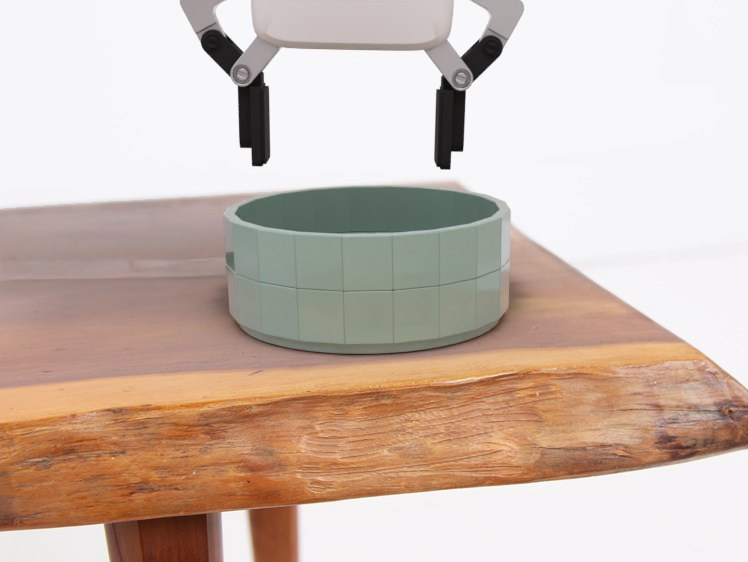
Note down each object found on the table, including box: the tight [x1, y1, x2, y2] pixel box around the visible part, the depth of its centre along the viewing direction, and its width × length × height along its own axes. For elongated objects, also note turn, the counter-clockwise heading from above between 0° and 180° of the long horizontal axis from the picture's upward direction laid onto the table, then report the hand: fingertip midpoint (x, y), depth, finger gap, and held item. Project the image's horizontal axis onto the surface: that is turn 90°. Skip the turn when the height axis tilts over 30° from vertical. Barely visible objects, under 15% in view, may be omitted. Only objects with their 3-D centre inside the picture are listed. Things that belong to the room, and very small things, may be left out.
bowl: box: [222, 184, 512, 355], centre depth 61 cm, size 15×15×6 cm
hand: (351, 164), depth 60 cm, fingers open, 9 cm apart
